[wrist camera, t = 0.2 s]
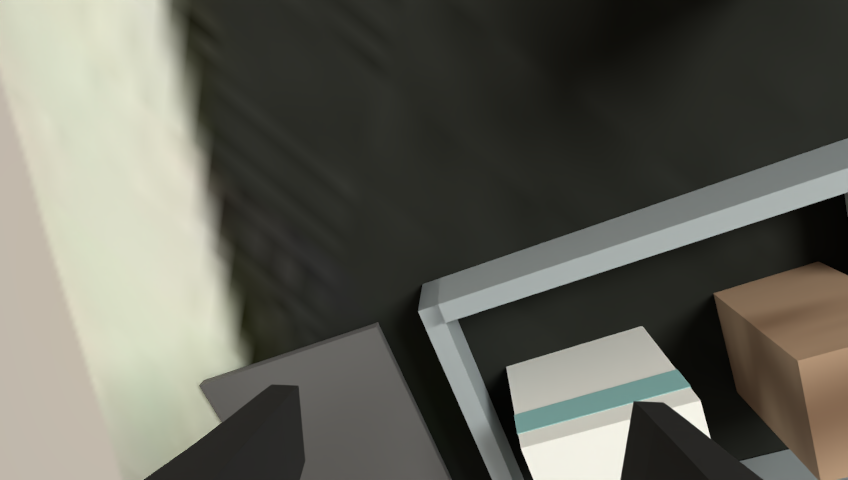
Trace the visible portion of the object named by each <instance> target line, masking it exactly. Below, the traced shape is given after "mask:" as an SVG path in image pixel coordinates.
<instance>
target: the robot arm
mask: <svg viewBox="0 0 848 480" xmlns="http://www.w3.org/2000/svg"><path fill="white" fill-rule="evenodd" d="M304 464H305V452H304V441H303V430H302V418H301V407H300V396H299V386H297V385H275V384H272V385H270V386H269V387H267V388H266V389H265V390H263V391H262V392H261V393H259V394H258V395H257V396H255V397H254V398H253V399H252V400H250V401H249V402H248V403H247V404H245V405H244V406H243V407H242V408H240V409H239V410H238V411H236V412H235V413H234V414H233V415H231V416H230V417H229V418H228V419H226V420H225V421H224V422H222V423H221V424H220V425H218V426H217V427H216V428H215V429H213V430H212V431H211V432H209V433H208V434H207V435H205V436H204V437H203V438H202V439H200V440H199V441H198V442H196V443H195V444H194V445H192V446H191V447H189V448H188V449H187V450H185V451H184V452H182V453H181V454H180V455H178V456H177V457H175V458H174V459H172V460H171V461H170V462H168V463H167V464H165V465H164V466H163V467H161V468H160V469H158V470H157V471H155V472H154V473H153V474H151V475H150V476H148V477H147V478H146V479H144V480H300V478H301V474H302V471H303V467H304ZM621 480H763V479H762V478H761V477H759V476H758V475H757V474H755V473H754V472H753V471H751V470H750V469H749V468H747V467H746V466H745V465H744V464H742V463H741V462H740V461H738V460H737V459H736V458H735V457H733V456H732V455H731V454H729V453H728V452H727V451H726V450H724V449H723V448H722V447H721V446H719V445H718V444H717V443H715V442H714V441H713V440H712V439H710V438H709V437H708V436H707V435H705V434H704V433H703V432H702V431H700V430H699V429H698V428H697V427H695V426H694V425H693V424H691V423H690V422H689V421H688V420H686V419H685V418H684V417H683V416H681V415H680V414H679V413H677V412H676V411H675V410H673V409H672V408H671V407H669V406H668V405H666V404H665V403H664V402H644V401H633V407H632V413H631V419H630V425H629V431H628V437H627V443H626V449H625V455H624V461H623V467H622V473H621Z"/></svg>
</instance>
